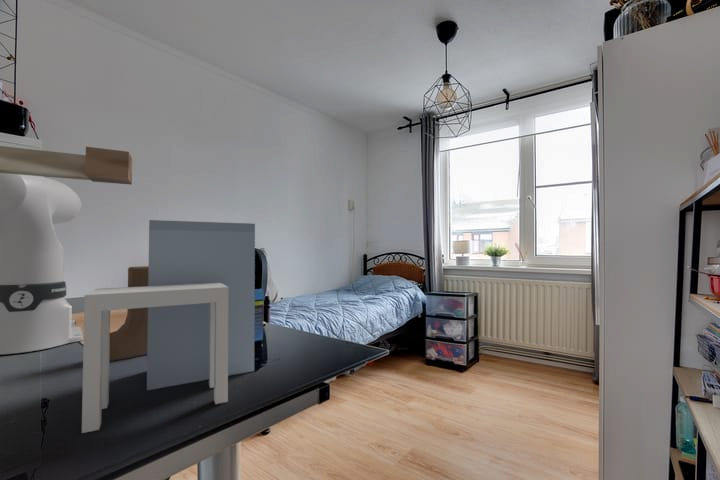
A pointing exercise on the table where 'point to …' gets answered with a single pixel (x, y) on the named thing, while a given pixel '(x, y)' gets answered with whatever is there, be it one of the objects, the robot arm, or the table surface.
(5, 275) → the robot arm
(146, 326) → the wooden block
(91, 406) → the stool
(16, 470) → the table surface
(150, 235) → the tall blue-grey box
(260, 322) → the label tape box
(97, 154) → the long tan plank
